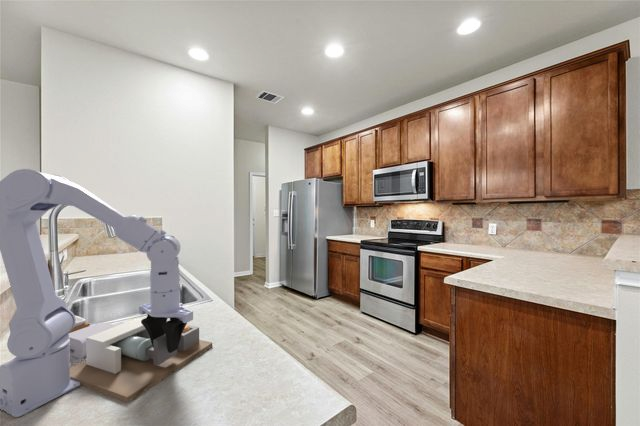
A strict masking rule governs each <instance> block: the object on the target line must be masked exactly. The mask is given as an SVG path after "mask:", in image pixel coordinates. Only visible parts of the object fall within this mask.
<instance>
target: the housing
mask: <svg viewBox="0 0 640 426" xmlns="http://www.w3.org/2000/svg"><path fill="white" fill-rule="evenodd" d="M142 319H143V318H141V317H137V318H134V319H131V320H129V321H126V322H123V324H121V325H118V326H115V327H113V328H110V329H108V330H105V331H102V332H100V333H97V334H95V335H92V336H89V337H87V338H86V357H85V359H86V360H85V361H86V364H87V365H90V366H93V367H96V368H99V369H102V370H105V371H109V372H112V373H115V374H116V373H117V372H119V371H121V348H119V347H115V346H111V345H110V344H112V343H115V342H117V341H119V340H122V339H124V338H126V337H128V336H131V335H134V336H138V337H142V338H146V339H149V338H150V337H149V334H148V332H147V330H146V328H145V327H144V326H143V325H142V323H141V320H142ZM186 326H189V327H190V330H189V331H187V332H185V333H182V335H181V339H180V342H179V346H178V349H177V350H180V351H185V350H187V349H189V348H190V347H192V346H194V345H195V344H197V343H199V340H200V327H199V326H194V325H189V324H186Z"/></svg>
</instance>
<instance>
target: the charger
mask: <svg viewBox="0 0 640 426" xmlns="http://www.w3.org/2000/svg"><path fill="white" fill-rule="evenodd" d="M123 323H124V322H123V321H120V322H117V323H115V324H112V323H108V322H98V323H95V324H92V325H91V324H90V325H89V326H88V327H86V328H83V329H80V330H77V331H74V332H72V333H69V339H70V357H73V358H77V359H84V358H86V338H87V337H89V336H92V335H95V334H97V333H100V332H102V331H105V330H108V329H110V328H113V327H115V326H118V325H121V324H123Z"/></svg>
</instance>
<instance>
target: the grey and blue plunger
mask: <svg viewBox="0 0 640 426" xmlns="http://www.w3.org/2000/svg"><path fill="white" fill-rule="evenodd" d="M110 345H111V346H115V347H119V348H121V355H125V356H128V357H132V358H135V359H139V360H142V361H146V360H149V359H150V358H151V357H153V358H154V365H157V366H158V365H160V364H161V363H163V362H165V361H166V360H168V359H170V358H171V357H173V356H175V355H176V354H177V350H175V351H173V352H171V353H169V352H168V350H167V341H166V335H165V334H164V335H162V336H160V337H158V338H156V339H154V340H153V346H154V349H153V346H152V343H151V340H150V338H149V339H146V338H142V337H138V336H134V335H131V336H128V337H126V338H124V339H122V340H119V341H117V342H115V343H112V344H110Z"/></svg>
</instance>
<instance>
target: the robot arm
mask: <svg viewBox="0 0 640 426" xmlns="http://www.w3.org/2000/svg"><path fill="white" fill-rule="evenodd" d="M60 205H62V206H71V207H75V208H76V209H78V210H79V211H82V212H83V213H85V214H88V215H89V216H91V217H93V218H95V219H97V220H98V221H100V222H102V223H103V224H106V225H108V226H109V227H111V228H113V232H114V236H115V237H116V238H117V239H119V240H121V241H122V242H124V243H126V244H127V245H129V246H131V247H132V248H134V249H136V250H138V251H139V252H141V253H146V257H147V259H148V260H149V261H150V272H149V273H150V278H149V279H150V281H149V283H150V285H149V286H150V288H149V289H150V290H149V291H150V297H149V298H150V300H149V301H150V303H148V302H147V303H144V304H142V305H139V307H138V309H139V311H138V313H139V314H138V315H141V316H142V315H146V317H145V318H142V320H141V323H142V325H143V326H144V327H145V328H146V330H147V332H148V334H149V337H150V340H151V343H152V346H153V340H154V339H156V338H158V337H160V336H162V335H164V334H165V335H166V341H167V350H168V352H169V353H171V352H173V351H175V350H177V349H178V346H179V342H180V339H181V335H182V333H183V330H184V328H185V326H186V325H188V323H189V322H191V321H193V320H194V311H193V310H190V309H187V308H186V307H184V306H183V303H182V302H181V299H180V267H179V265H180V261H179V257H178V255H179V254H180V251H181V244H180V242H179V240H178V239H177V238H176V237H175V236H173V235H170V234H167V231H165V230H164V229H162V230H160V229H158V228H156V227H155V226H154V225H151V224H150V223H148V219H147V218H146V217H145V216H143V215H142V216H137V215H135V214H134V215H133V214H132V215H124V214H123V213H122V212H120V211H119V210H117V209H115V208H114V207H112V206H111V205H110V204H108V203H107V202H105V201H103V200H102V199H101V198H99V197H97V196H96V195H95V194H94V193H92V192H91V191H88V189H85V188H84V187H83V186H81V185H79V184H77V183H76V182H73V181H69V179H68V178H65V177H64V176H61V175H56V174H50V173H44V172H41V171H38V170H35V169H30V168H21V169H16V170H14V171H12V172H10V173H9V174H8V175H6V176H5V177H4V178H2V179H1V180H0V254H1V258H2V262H3V264H4V269H5V272H6V275H7V280H8V281H9V285H10V289H11V292H12V295H13V298H14V299H13V300H14V302H15V306H16V309H15V311H14V312H13V315H12V316H11V318H10V320H9V323H8V327H9V337H8V339H7V342H6V345H7V349H8V351H9V352H10V353H11V355H13V356H14V358H12V359H11V360H9V361H7V362H4V363H3V364H0V409H1V410H0V411H2V410H4V411H6V412H7V413H6V412H5V413H6V414H8V413H9V414H8V415H10V414H11V415H10V416H13V417H14V418H19V417H22V416H23V415H26V414H27V413H30V412H31V411H33V410H35V409H37V408H39V407H42V406H43V405H45V404H47V403H49V402H50V401H53V400H54V399H56V398H59V397H61V396H62V395H64V394H66V393H68V392H70V391H72V390H73V389H76V388H77V387H80V386H82V385H81V382H78V381H75V380H73V379H70V367H71V356H70V339H69V332H70V331H71V330H72V329H73V327H74V326H75V322H76V318H75V316H76V315H75V314H74V312H73V311H71V309H69V308H68V306H67V304H66V301H65V300H64V299H63V298H61V297H59V296H58V295H56V294H57V293H56V291H55V288H54V283H53V280H52V276H51V273H50V269H49V265H48V262H47V261H48V260H47V259H46V255H45V251H44V247H43V243H42V240H41V235H40V232H39V230H38V229H39V228H38V226H37V221H38V220H39V219H41V218H42V217H44V215H45V214H46V213H47V212H48V211H49V210H52V209H54V208H55V207H58V206H60ZM168 319H169V320H168ZM153 349H154V346H153ZM4 411H3V412H4Z"/></svg>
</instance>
